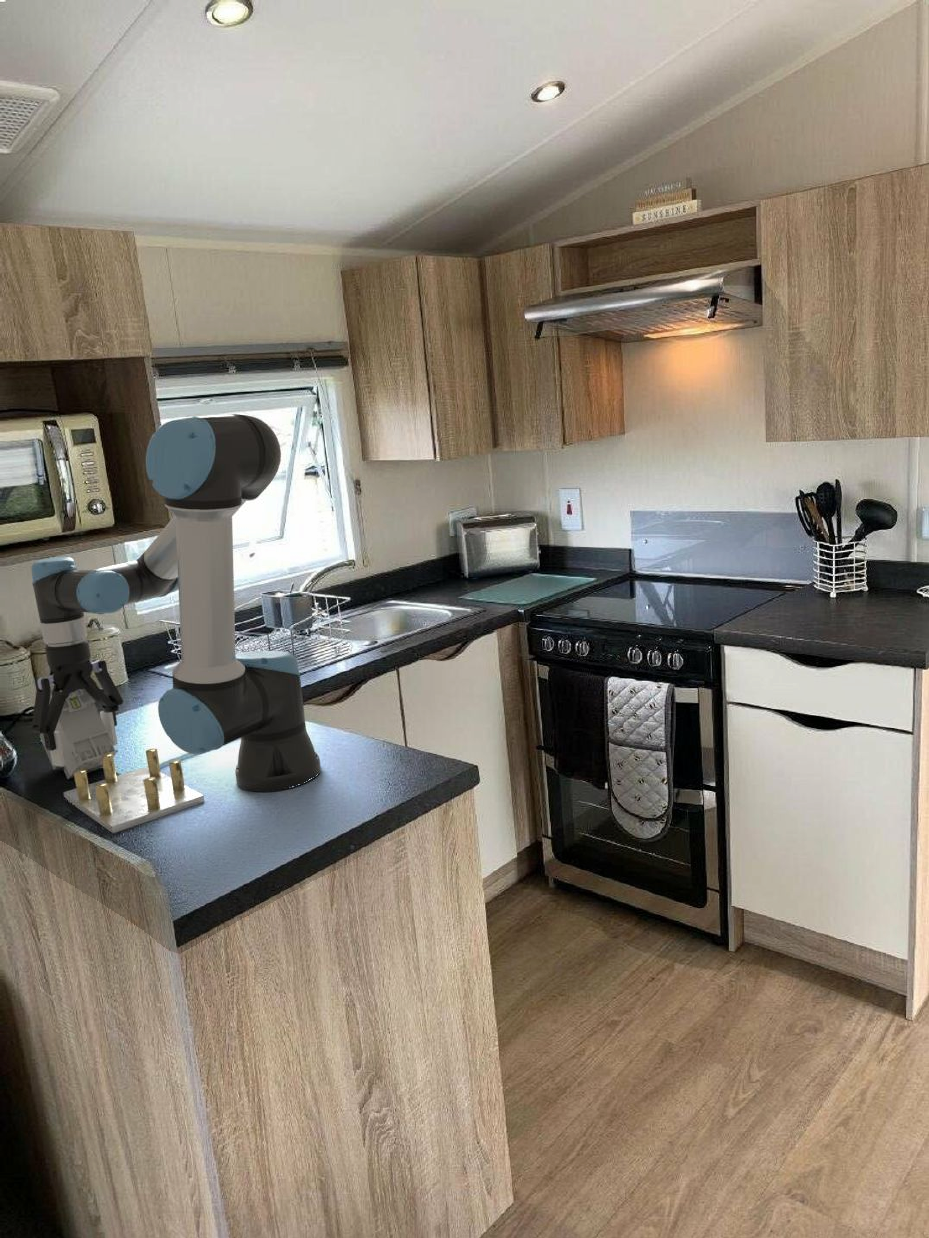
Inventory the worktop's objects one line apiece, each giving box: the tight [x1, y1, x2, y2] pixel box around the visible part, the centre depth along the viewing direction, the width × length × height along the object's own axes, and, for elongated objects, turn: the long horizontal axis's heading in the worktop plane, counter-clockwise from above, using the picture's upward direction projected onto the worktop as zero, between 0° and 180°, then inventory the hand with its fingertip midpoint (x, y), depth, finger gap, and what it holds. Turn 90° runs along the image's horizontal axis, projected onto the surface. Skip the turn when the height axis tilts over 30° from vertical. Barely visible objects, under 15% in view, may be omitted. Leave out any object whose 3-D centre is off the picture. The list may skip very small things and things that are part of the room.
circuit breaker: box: [39, 689, 119, 780], centre depth 186 cm, size 8×14×15 cm
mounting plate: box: [62, 748, 205, 834], centre depth 169 cm, size 23×16×6 cm
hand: (85, 754), depth 182 cm, fingers open, 11 cm apart
